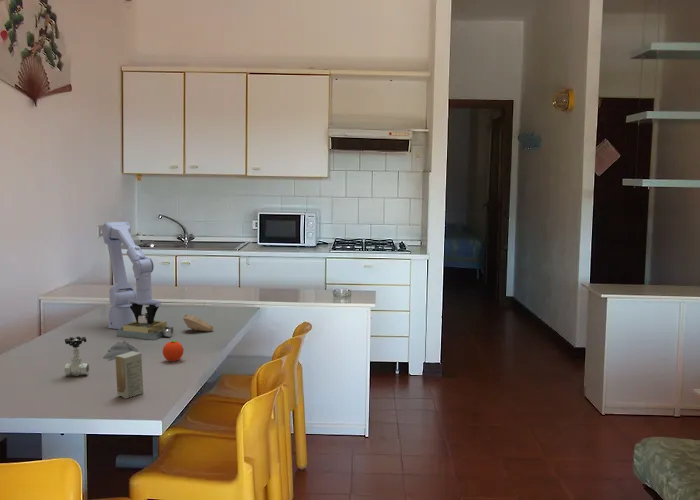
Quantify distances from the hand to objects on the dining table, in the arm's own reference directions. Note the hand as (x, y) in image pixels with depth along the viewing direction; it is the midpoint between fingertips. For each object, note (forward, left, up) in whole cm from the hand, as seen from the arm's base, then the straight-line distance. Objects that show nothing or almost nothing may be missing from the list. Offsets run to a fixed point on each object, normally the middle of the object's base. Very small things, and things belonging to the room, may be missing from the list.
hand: (144, 322), depth 271 cm
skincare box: (+43, -62, -5) cm, 76 cm away
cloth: (+8, -24, -6) cm, 26 cm away
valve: (+15, -53, -5) cm, 55 cm away
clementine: (+33, -27, -5) cm, 43 cm away
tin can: (0, 0, -2) cm, 2 cm away
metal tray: (+1, 0, -5) cm, 5 cm away
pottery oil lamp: (+17, +12, -5) cm, 21 cm away
